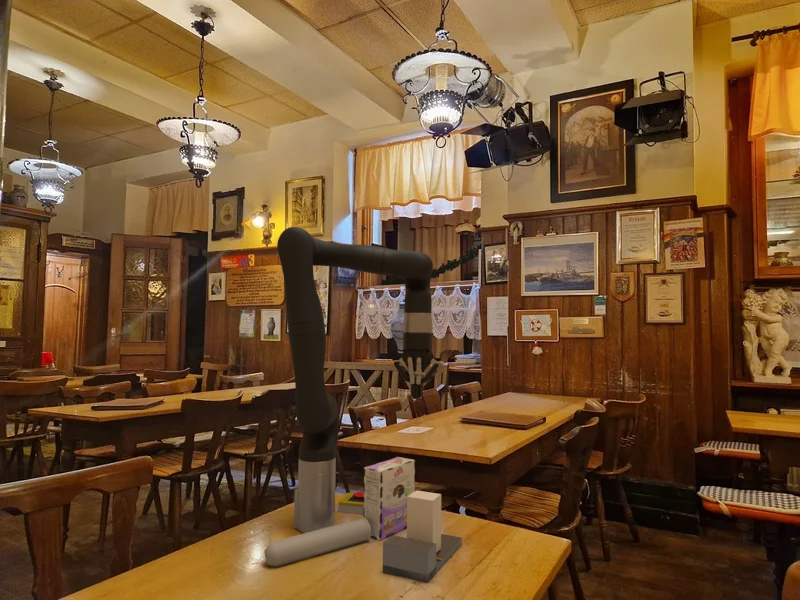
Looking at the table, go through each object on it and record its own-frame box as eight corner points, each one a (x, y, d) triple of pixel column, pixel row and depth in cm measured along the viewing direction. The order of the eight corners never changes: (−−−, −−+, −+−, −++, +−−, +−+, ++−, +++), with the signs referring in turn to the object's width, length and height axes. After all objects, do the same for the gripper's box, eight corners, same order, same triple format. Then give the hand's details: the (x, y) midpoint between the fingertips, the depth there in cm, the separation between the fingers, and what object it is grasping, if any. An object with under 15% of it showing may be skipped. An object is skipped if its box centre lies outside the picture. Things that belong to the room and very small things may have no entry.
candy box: (397, 519, 142) (398, 455, 143) (415, 524, 138) (416, 459, 139) (361, 535, 131) (362, 466, 132) (380, 541, 128) (381, 470, 128)
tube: (272, 554, 111) (373, 526, 126) (262, 538, 115) (361, 512, 130) (268, 576, 112) (368, 546, 127) (258, 559, 116) (357, 532, 131)
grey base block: (382, 572, 112) (382, 542, 112) (422, 536, 131) (422, 511, 131) (427, 582, 107) (428, 551, 108) (461, 544, 126) (462, 517, 127)
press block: (406, 551, 118) (407, 496, 118) (415, 543, 122) (416, 490, 123) (432, 556, 115) (432, 500, 116) (440, 548, 120) (441, 494, 120)
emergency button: (343, 487, 156) (393, 491, 153) (343, 502, 156) (393, 507, 153) (332, 497, 147) (385, 501, 144) (331, 513, 147) (385, 518, 144)
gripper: (388, 330, 139) (387, 398, 138) (436, 331, 133) (435, 402, 132) (400, 330, 146) (399, 395, 145) (447, 331, 140) (446, 398, 139)
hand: (417, 398), depth 139 cm, fingers closed
